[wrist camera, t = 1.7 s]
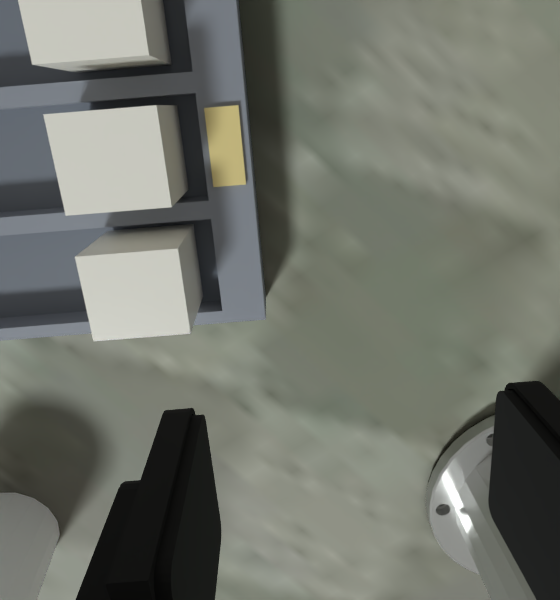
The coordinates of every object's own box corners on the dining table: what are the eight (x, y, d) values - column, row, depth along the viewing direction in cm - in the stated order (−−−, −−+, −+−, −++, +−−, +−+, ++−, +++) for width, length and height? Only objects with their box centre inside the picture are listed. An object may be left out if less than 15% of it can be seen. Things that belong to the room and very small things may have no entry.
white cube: (158, -35, 21) (130, -71, 16) (171, 64, 22) (148, 55, 18) (58, -26, 21) (4, -60, 16) (77, 72, 22) (31, 64, 18)
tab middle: (177, 105, 22) (156, 105, 18) (188, 189, 24) (171, 207, 20) (85, 112, 23) (43, 114, 18) (101, 196, 24) (65, 215, 20)
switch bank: (233, -57, 22) (228, -83, 19) (265, 297, 28) (265, 320, 25) (-237, -18, 22) (-316, -38, 19) (-110, 327, 28) (-155, 354, 25)
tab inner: (193, 223, 24) (177, 248, 20) (203, 296, 26) (190, 333, 21) (107, 230, 24) (74, 256, 20) (121, 302, 26) (93, 341, 21)
